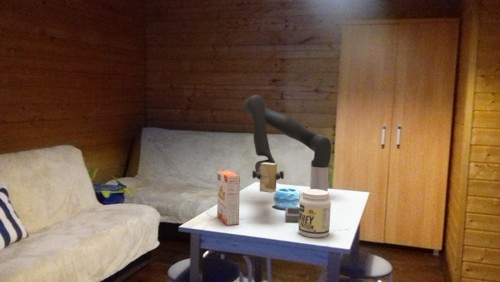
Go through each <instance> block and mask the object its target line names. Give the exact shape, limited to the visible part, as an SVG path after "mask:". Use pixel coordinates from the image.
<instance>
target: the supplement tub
mask: <svg viewBox="0 0 500 282" xmlns="http://www.w3.org/2000/svg"><path fill="white" fill-rule="evenodd" d="M301 192H302V194H301V197H300V199H299V206H298V208H299V223H298V232H299V234H300V235H302V236H304V237H308V238H313V239H314V238H325V237H327V236H328V235H329V233H330V222H331V221H330V220H331V205H332V203H331V200H330V199H329V197H330V196H329V194H330V193H329V191H328V192H327V191H324V190H319V189H310V188H309V189H308V188H307V189H303V190H302V191H301Z"/></svg>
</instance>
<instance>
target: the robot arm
mask: <svg viewBox="0 0 500 282" xmlns="http://www.w3.org/2000/svg"><path fill="white" fill-rule="evenodd" d="M242 109H243V111H244V113H245V114H247V115H248V116H250V117H252V121H253V145H254V149H255V155H257V156H258V157H266V158H267V159H264V160H263V159H262V160H258V161H257V162H256V163H255V165H254V168H255V169H254V170H252V175H251V176H252V179H256V178H257V179H258V180H260V169H261V163H264V162H265V163H276V161H275V159H274V157H273V155H272V152H271V148H270V144H269V139H268V133H267V125H268V126H270V127H271V128H273V129H275V130H277V131H278V132H280V133H281V134H283V135H285V136H287V137H289V138H291V139H293V140H295V141H298V142H300V143H302V144H303V145H304V146H306V147H307V148H308V149H310V150H311V151H313V152H314V153H313V154H314V155H313V159H312V160H311V162H310V163H311V164H310V188H309V189H319V190H324V191H327V192H329V191H328V189H329V169H330V166H329V165H330V162H331V158H332V157H331V156H332V142H331V139H329V138H328V137H326V136H322V135H319V134H316V133H314V132H312V131H310V130H308V129H307V128H305V127H304V126H303V125H302V124H301V123H300V122H298V120H296V119H294V118H292V117H291V116H290V115H287V114H284V113H283V112H279V111H275V110H272V109H270V108H267V107H266V103H265V100H264V98H263V97H262V96H260V95H257V94H254V95H252V96H249V97H248V98H246V99H245V100H244V101H243V103H242ZM284 175H285V172H284V171H283V170H281V171H279V172H277V180H276V181H278V180H279V179H282V180H283V179H285V177H284Z"/></svg>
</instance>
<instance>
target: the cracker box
mask: <svg viewBox="0 0 500 282" xmlns="http://www.w3.org/2000/svg"><path fill="white" fill-rule="evenodd" d="M240 179H241V177H240V175H238V174H236V173H235V172H233V171H232V170H230V169H228V170H227V169H225V170H224V169H223V170H217V190H216V191H217V194H216V197H217V199H216V201H217V203H216V204H217V207H216V209H217V211H216V216H217V217H218V219H219V220H220V221H222V222H223V224H225V226H234V225H235V226H236V225H240V188H241V186H240V184H241V183H240V182H241V181H240Z"/></svg>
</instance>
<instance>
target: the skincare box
mask: <svg viewBox="0 0 500 282" xmlns="http://www.w3.org/2000/svg"><path fill="white" fill-rule="evenodd" d="M277 173H278V163H276V162H275V163H265V162H264V163H261V169H260V179H259V192H261V193H262V192H263V193H268V194H269V193H270V194H273V193H275V192H276V191H277V181H278V180H277Z"/></svg>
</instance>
